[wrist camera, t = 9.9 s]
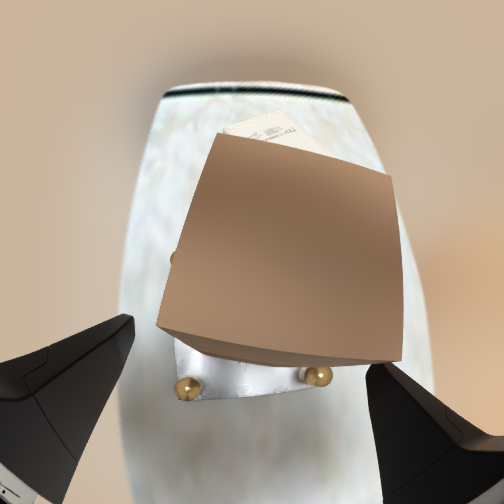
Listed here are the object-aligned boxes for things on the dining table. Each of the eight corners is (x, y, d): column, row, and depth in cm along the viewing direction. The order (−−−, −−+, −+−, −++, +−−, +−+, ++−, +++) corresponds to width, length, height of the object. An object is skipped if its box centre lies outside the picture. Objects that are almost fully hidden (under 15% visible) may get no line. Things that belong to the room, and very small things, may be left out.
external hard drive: (293, 221, 24) (222, 137, 28) (351, 188, 27) (281, 117, 30) (298, 212, 23) (223, 126, 26) (357, 179, 25) (283, 107, 29)
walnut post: (275, 367, 17) (401, 360, 5) (203, 354, 17) (156, 325, 5) (285, 299, 20) (390, 176, 7) (217, 286, 19) (217, 132, 7)
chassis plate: (317, 384, 18) (338, 387, 14) (180, 398, 17) (171, 405, 13) (300, 261, 22) (315, 239, 18) (175, 267, 21) (166, 245, 17)
